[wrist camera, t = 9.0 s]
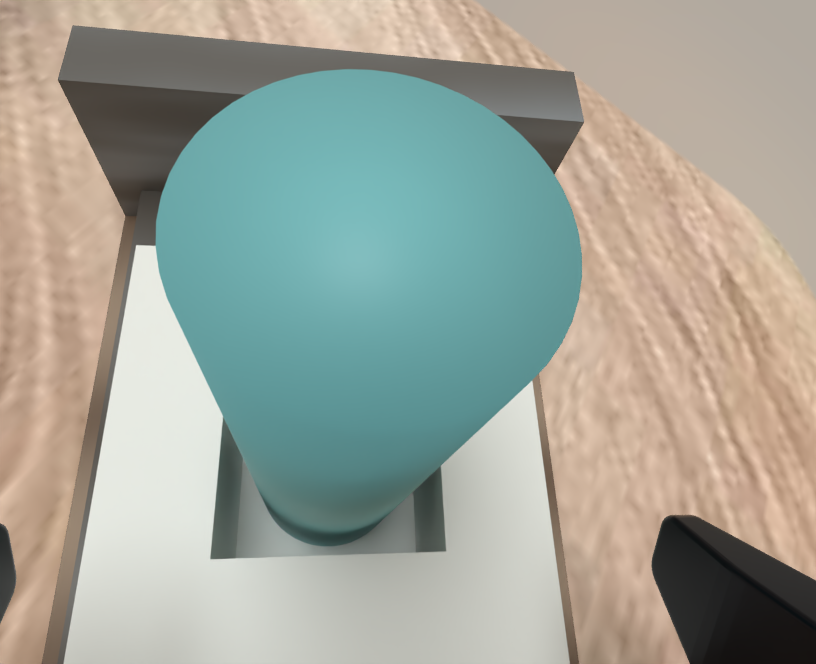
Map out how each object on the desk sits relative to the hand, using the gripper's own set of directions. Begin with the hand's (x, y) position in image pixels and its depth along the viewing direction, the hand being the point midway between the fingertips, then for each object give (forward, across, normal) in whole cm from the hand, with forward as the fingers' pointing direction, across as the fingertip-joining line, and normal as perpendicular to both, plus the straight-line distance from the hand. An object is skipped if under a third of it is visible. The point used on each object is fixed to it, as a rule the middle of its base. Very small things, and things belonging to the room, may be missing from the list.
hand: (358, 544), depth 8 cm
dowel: (+8, 0, +4) cm, 9 cm away
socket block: (+9, 0, +5) cm, 10 cm away
